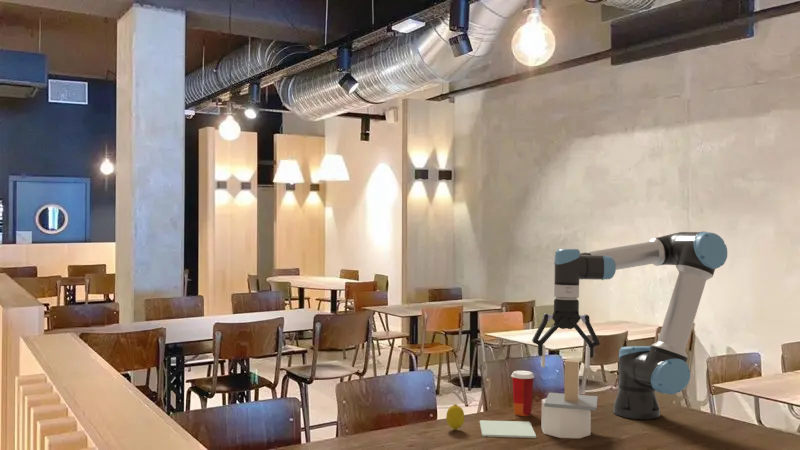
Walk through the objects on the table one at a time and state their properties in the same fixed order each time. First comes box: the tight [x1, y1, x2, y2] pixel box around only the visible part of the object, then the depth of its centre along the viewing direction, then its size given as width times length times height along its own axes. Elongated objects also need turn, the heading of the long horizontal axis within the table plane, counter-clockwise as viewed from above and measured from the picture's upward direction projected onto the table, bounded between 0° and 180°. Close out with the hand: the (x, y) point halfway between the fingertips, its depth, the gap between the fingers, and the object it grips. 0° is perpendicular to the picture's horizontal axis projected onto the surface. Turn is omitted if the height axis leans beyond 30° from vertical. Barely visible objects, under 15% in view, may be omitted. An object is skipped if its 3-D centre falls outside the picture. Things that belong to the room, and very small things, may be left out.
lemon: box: [445, 403, 465, 431], centre depth 215 cm, size 6×6×8 cm
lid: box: [544, 358, 599, 412], centre depth 214 cm, size 15×15×13 cm
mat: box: [479, 419, 537, 439], centre depth 216 cm, size 16×16×1 cm
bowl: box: [540, 398, 592, 439], centre depth 215 cm, size 14×14×9 cm
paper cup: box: [510, 370, 535, 417], centre depth 236 cm, size 8×8×14 cm
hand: (565, 367), depth 215 cm, fingers open, 13 cm apart
